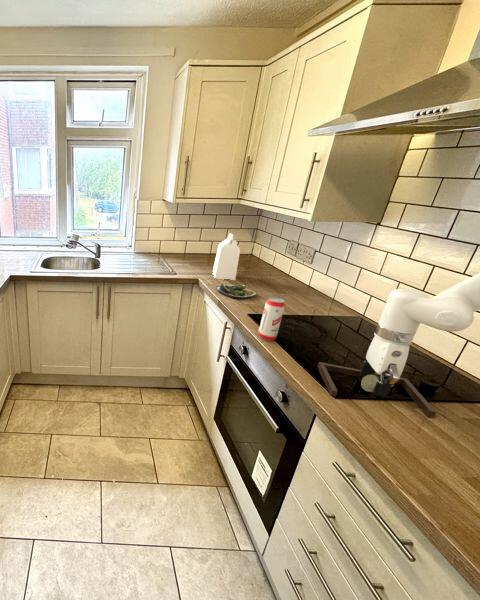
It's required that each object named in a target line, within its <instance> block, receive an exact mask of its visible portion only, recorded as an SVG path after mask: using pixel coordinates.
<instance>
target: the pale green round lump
mask: <svg viewBox="0 0 480 600" xmlns="http://www.w3.org/2000/svg"><path fill="white" fill-rule="evenodd" d="M376 382H379V377H378V376H375V375H367V376H365V377H363V378H362V379H361V382H360V386H361V388H362V389H363V390H364V391H366V392H368V393H372V392H373V389H374V387H375V385H376Z"/></svg>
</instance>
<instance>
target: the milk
mask: <svg viewBox="0 0 480 600" xmlns="http://www.w3.org/2000/svg"><path fill="white" fill-rule="evenodd" d="M240 254H241V248H240V246H239V245H238V241H237V240H236V239H234V234H233V233H228V236H227V238H226V239H224V240H223V241H221V242H220V243H219V244H218V245H217V249H216V255H215V260H214V264H213V269H212V272H213V273H212V276H213V275H214V276H213V279H215V278H216V279H215V280H224V279H230V280H229V281H236V278H237V273H238V266H239V260H240Z"/></svg>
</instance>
